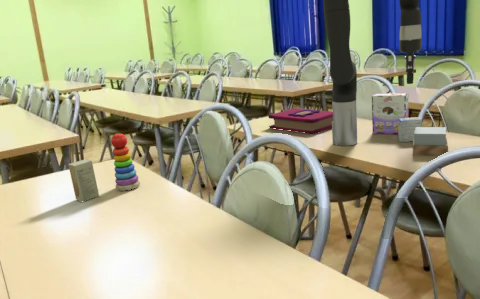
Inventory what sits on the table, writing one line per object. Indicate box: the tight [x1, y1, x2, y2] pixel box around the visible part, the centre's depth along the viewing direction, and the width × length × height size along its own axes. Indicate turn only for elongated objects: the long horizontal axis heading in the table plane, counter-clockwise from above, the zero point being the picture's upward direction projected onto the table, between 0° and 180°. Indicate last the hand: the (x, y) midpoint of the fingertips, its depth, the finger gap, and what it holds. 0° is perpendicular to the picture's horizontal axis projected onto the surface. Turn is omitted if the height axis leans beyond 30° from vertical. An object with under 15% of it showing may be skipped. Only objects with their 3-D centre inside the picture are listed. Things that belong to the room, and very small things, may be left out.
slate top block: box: [414, 126, 447, 145], centre depth 157 cm, size 10×10×4 cm
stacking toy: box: [110, 133, 141, 192], centre depth 147 cm, size 8×8×19 cm
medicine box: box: [397, 116, 423, 143], centre depth 173 cm, size 8×4×9 cm, turn 84°
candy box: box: [371, 92, 409, 135], centre depth 187 cm, size 14×6×16 cm, turn 58°
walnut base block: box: [412, 137, 449, 157], centre depth 158 cm, size 11×11×4 cm
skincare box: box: [68, 158, 100, 203], centre depth 142 cm, size 6×4×12 cm
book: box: [268, 107, 333, 135], centre depth 214 cm, size 21×28×8 cm
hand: (410, 82), depth 169 cm, fingers open, 8 cm apart
